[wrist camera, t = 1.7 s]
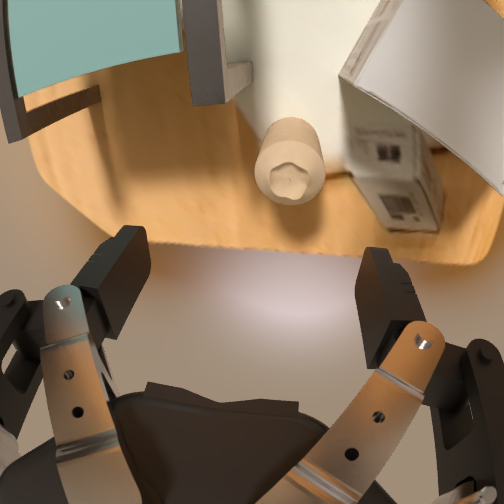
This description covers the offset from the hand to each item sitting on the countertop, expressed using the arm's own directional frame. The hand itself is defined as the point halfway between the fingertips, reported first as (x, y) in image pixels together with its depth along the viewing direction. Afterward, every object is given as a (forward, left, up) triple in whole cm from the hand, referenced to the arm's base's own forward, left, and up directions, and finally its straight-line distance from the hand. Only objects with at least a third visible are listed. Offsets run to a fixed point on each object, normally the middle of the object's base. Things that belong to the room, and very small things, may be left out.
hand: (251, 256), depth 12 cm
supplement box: (-16, -6, -23) cm, 29 cm away
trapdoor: (+12, -16, -11) cm, 23 cm away
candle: (-1, +3, -23) cm, 23 cm away
